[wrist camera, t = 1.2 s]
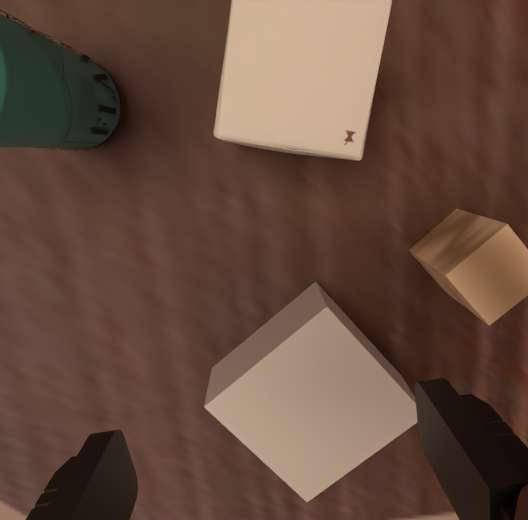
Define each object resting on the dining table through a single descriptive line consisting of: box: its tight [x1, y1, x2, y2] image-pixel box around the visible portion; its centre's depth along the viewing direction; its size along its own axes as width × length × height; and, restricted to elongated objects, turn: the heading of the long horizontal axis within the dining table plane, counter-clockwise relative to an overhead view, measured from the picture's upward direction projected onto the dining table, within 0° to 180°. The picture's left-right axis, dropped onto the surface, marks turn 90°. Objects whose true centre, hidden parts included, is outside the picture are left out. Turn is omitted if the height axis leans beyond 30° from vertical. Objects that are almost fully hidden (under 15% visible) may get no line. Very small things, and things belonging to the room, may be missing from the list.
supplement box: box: [214, 0, 392, 161], centre depth 25 cm, size 7×7×13 cm
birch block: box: [409, 209, 528, 325], centre depth 31 cm, size 5×5×7 cm
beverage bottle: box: [0, 10, 121, 151], centre depth 21 cm, size 6×7×20 cm
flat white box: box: [204, 282, 417, 502], centre depth 34 cm, size 12×12×6 cm
